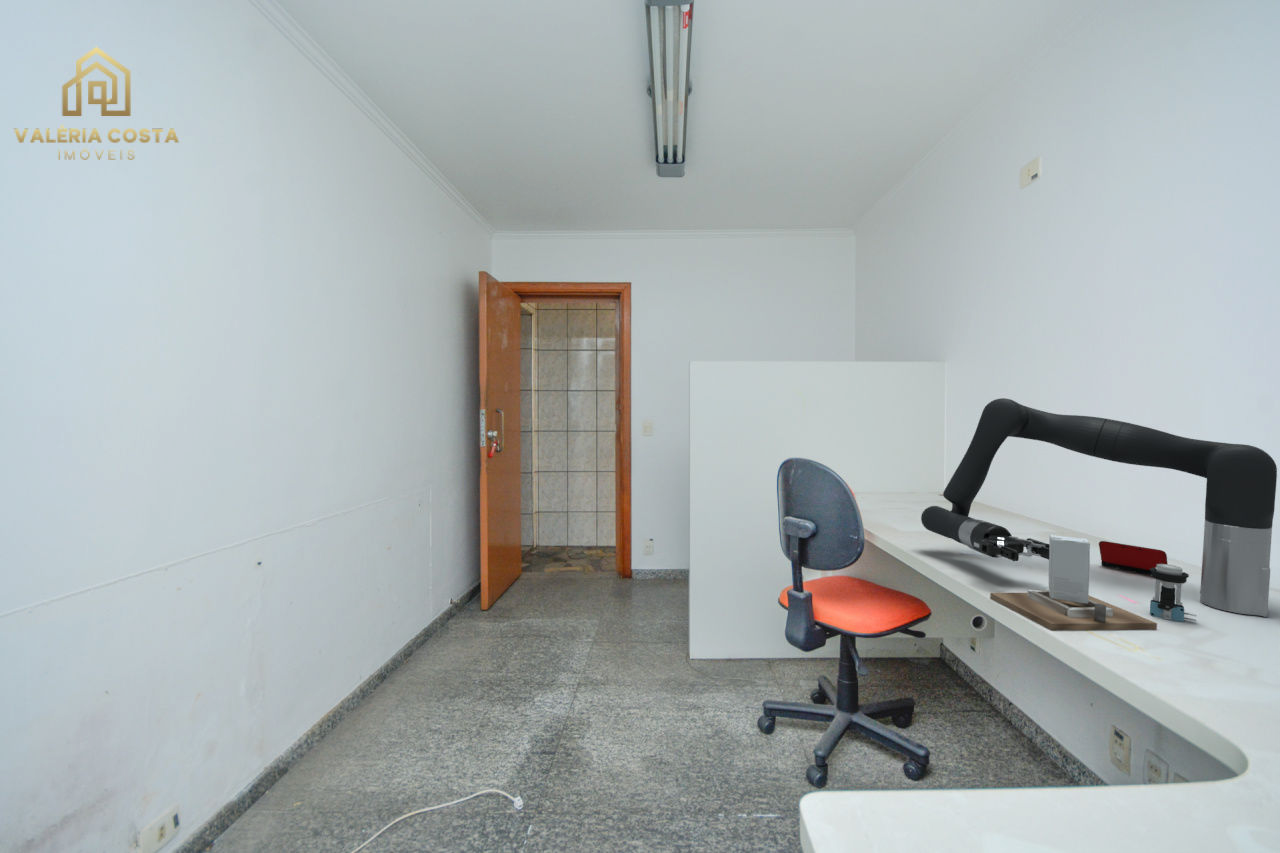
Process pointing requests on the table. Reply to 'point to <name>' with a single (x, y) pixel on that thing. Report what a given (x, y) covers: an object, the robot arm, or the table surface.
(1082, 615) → the keyed plate
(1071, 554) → the skincare box
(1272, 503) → the robot arm
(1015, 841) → the table surface
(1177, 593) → the push button
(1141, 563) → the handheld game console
